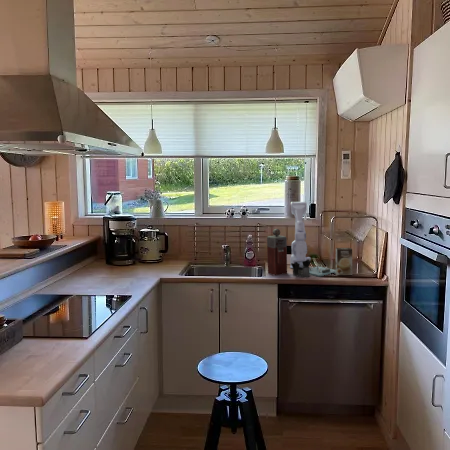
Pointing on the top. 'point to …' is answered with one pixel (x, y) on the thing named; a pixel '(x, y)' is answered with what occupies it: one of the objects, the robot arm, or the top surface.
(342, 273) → the coffee box
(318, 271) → the teal square peg board
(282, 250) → the brown tall bottle
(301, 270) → the drive
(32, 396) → the top surface
